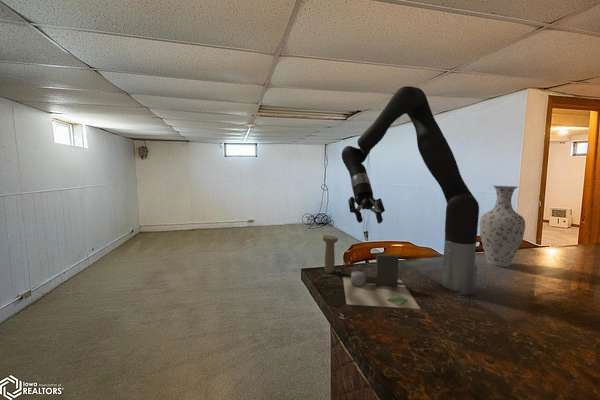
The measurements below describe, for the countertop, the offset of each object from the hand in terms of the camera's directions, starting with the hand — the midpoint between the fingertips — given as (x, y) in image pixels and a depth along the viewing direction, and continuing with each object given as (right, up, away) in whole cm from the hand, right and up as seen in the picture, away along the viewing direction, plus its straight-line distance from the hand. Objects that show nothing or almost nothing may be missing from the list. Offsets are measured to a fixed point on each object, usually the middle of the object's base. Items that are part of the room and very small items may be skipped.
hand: (370, 222), depth 103 cm
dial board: (-2, -23, -14) cm, 27 cm away
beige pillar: (-16, -21, +3) cm, 26 cm away
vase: (+61, -20, +17) cm, 67 cm away
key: (0, -21, -10) cm, 23 cm away
